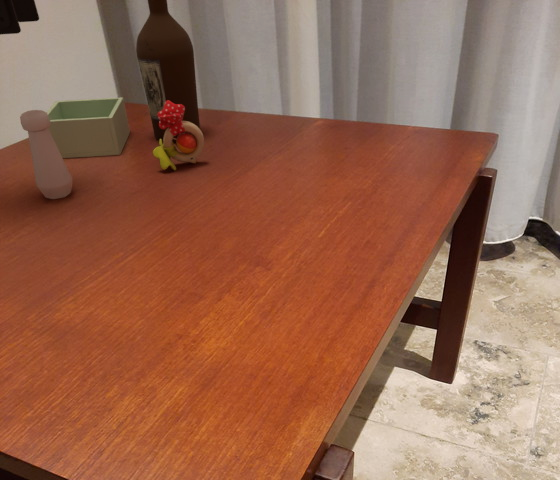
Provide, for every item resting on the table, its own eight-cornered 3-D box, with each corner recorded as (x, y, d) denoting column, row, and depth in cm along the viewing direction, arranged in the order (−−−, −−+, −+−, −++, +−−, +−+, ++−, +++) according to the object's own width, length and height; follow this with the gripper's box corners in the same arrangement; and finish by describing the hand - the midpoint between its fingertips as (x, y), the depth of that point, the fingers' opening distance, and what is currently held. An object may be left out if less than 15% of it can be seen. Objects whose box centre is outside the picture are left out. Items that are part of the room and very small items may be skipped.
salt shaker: (82, 188, 95) (59, 107, 86) (63, 202, 90) (38, 118, 82) (52, 186, 96) (27, 105, 87) (33, 199, 92) (4, 116, 83)
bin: (49, 159, 106) (37, 121, 101) (65, 135, 116) (55, 101, 112) (120, 155, 106) (112, 117, 102) (130, 132, 117) (123, 97, 112)
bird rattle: (191, 168, 105) (144, 155, 101) (208, 108, 99) (158, 92, 95) (197, 180, 101) (148, 167, 97) (215, 118, 95) (163, 101, 91)
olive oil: (183, 123, 120) (163, -18, 103) (213, 134, 114) (197, -14, 97) (141, 135, 114) (113, -10, 98) (171, 147, 108) (146, -6, 92)
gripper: (-36, -131, 74) (10, 18, 86) (-92, -137, 61) (-28, 40, 72) (20, -134, 74) (59, 15, 86) (-23, -141, 61) (29, 37, 73)
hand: (19, 27), depth 79 cm, fingers open, 9 cm apart
